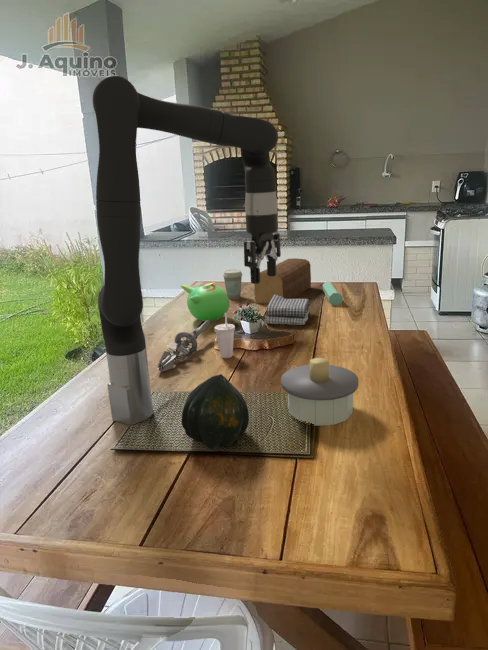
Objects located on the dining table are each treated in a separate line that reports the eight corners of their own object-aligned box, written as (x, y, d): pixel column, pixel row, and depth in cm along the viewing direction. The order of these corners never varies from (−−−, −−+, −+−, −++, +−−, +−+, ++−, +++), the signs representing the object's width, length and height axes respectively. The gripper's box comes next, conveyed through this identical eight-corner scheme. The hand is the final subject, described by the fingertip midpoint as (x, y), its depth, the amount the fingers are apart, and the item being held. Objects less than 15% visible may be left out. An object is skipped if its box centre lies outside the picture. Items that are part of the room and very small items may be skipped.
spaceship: (222, 316, 175) (201, 306, 177) (173, 363, 146) (149, 352, 147) (216, 335, 179) (196, 325, 181) (168, 385, 150) (144, 373, 151)
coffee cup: (221, 299, 227) (220, 273, 223) (227, 294, 235) (226, 269, 231) (240, 300, 225) (238, 273, 221) (245, 295, 232) (244, 269, 229)
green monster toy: (236, 322, 194) (234, 284, 189) (193, 330, 188) (190, 291, 183) (220, 311, 210) (218, 276, 205) (180, 317, 204) (177, 281, 199)
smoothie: (234, 360, 157) (231, 316, 153) (214, 359, 159) (210, 316, 154) (238, 352, 163) (236, 310, 159) (219, 352, 165) (216, 310, 160)
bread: (312, 287, 241) (311, 257, 237) (284, 306, 212) (283, 272, 208) (284, 285, 247) (283, 256, 243) (253, 304, 219) (252, 271, 214)
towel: (265, 326, 189) (264, 305, 186) (272, 312, 206) (271, 293, 203) (306, 327, 186) (306, 306, 183) (310, 312, 203) (309, 293, 200)
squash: (175, 440, 102) (219, 380, 102) (165, 411, 116) (204, 358, 116) (229, 472, 108) (272, 414, 107) (213, 440, 122) (251, 389, 121)
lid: (343, 406, 110) (343, 382, 108) (268, 391, 118) (267, 369, 117) (368, 375, 124) (368, 353, 123) (299, 364, 133) (299, 344, 131)
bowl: (338, 430, 114) (339, 402, 112) (278, 417, 121) (277, 390, 119) (360, 402, 126) (360, 376, 124) (303, 392, 133) (303, 367, 131)
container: (323, 278, 232) (331, 290, 208) (335, 282, 232) (345, 295, 208) (318, 290, 233) (326, 303, 209) (330, 294, 234) (339, 308, 210)
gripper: (261, 215, 113) (264, 287, 118) (288, 208, 125) (290, 274, 130) (232, 215, 117) (236, 285, 121) (261, 208, 128) (264, 272, 133)
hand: (264, 279), depth 125 cm, fingers open, 8 cm apart
